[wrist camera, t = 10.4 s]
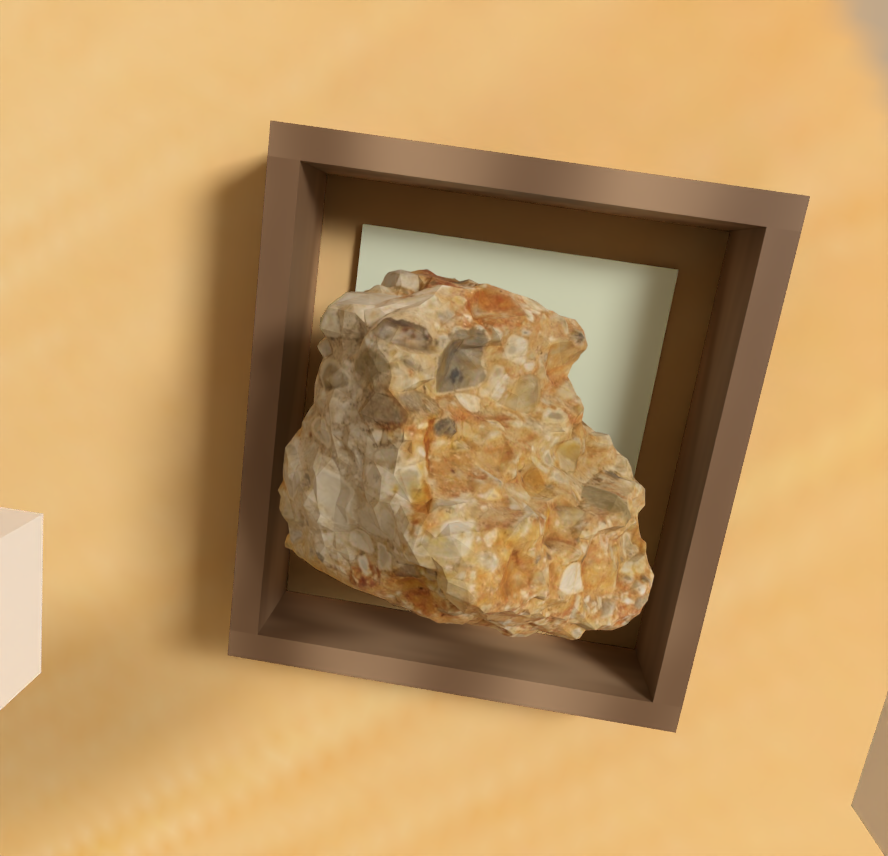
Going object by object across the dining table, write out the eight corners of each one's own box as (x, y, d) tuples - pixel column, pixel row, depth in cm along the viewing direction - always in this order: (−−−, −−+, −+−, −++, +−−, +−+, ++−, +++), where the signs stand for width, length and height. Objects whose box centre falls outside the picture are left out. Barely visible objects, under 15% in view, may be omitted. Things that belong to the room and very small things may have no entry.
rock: (295, 493, 28) (183, 619, 18) (391, 235, 25) (322, 220, 16) (583, 611, 28) (626, 800, 18) (706, 366, 25) (832, 433, 16)
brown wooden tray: (259, 608, 29) (227, 655, 26) (302, 139, 25) (270, 120, 22) (654, 676, 29) (675, 732, 25) (767, 205, 24) (809, 196, 21)
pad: (326, 562, 29) (324, 565, 28) (364, 224, 26) (362, 223, 25) (604, 608, 28) (605, 612, 28) (676, 269, 25) (678, 269, 25)
